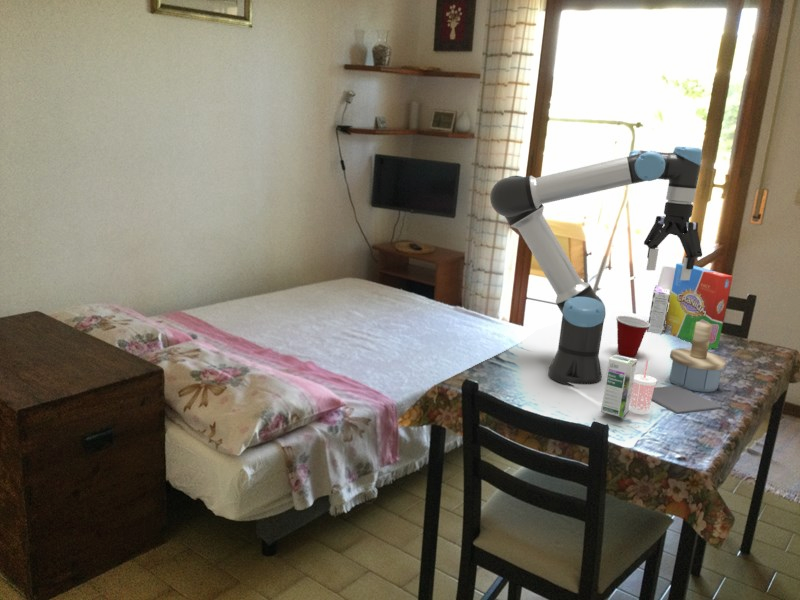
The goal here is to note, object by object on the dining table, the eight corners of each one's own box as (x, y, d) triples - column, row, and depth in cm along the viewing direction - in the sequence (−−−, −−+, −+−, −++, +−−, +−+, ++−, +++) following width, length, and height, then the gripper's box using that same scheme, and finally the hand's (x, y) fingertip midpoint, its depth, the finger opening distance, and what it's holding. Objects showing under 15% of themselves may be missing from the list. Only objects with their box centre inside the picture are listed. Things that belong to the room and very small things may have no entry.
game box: (662, 335, 251) (675, 263, 245) (674, 334, 253) (686, 263, 247) (706, 352, 233) (721, 275, 226) (718, 352, 235) (733, 275, 228)
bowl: (693, 393, 191) (697, 370, 190) (659, 377, 203) (663, 355, 201) (727, 390, 196) (731, 367, 195) (692, 374, 208) (696, 353, 206)
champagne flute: (659, 326, 263) (670, 265, 257) (671, 331, 256) (682, 269, 251) (645, 326, 260) (655, 265, 255) (657, 332, 254) (668, 269, 248)
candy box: (648, 325, 263) (655, 284, 259) (664, 328, 261) (671, 286, 257) (645, 334, 250) (653, 291, 246) (662, 337, 248) (670, 293, 244)
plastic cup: (640, 362, 216) (646, 326, 213) (606, 354, 222) (612, 319, 219) (648, 354, 225) (654, 320, 222) (615, 347, 231) (620, 313, 228)
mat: (676, 413, 176) (677, 412, 175) (634, 391, 190) (634, 389, 190) (722, 408, 182) (722, 406, 182) (677, 386, 196) (677, 385, 196)
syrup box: (600, 412, 173) (608, 358, 169) (607, 405, 178) (615, 353, 174) (622, 418, 170) (631, 363, 166) (629, 411, 175) (637, 358, 171)
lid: (697, 371, 188) (705, 332, 186) (658, 354, 202) (665, 317, 199) (736, 368, 194) (744, 329, 192) (696, 351, 208) (703, 315, 205)
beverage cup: (654, 411, 176) (663, 360, 173) (645, 417, 171) (654, 365, 168) (632, 404, 180) (640, 354, 177) (622, 410, 175) (630, 358, 172)
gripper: (724, 208, 184) (710, 284, 189) (658, 197, 206) (647, 266, 211) (704, 207, 181) (690, 284, 186) (638, 196, 203) (628, 266, 208)
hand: (667, 275), depth 199 cm, fingers open, 13 cm apart
